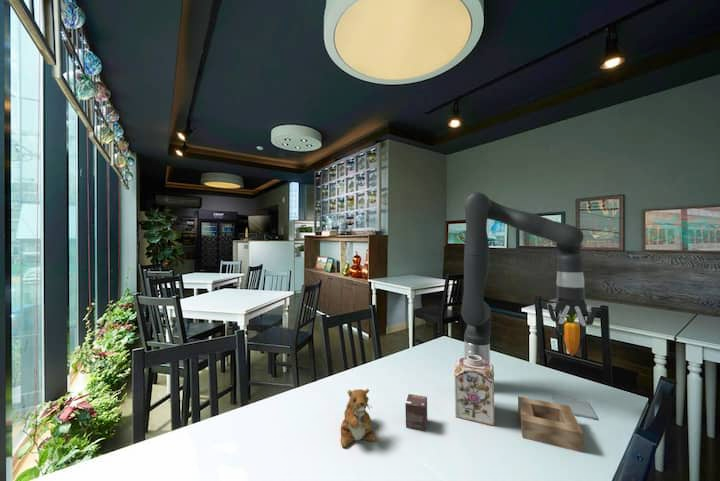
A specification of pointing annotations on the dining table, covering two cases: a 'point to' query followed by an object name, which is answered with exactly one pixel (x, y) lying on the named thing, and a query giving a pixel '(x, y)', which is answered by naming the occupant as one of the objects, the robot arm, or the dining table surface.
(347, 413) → the stuffed squirrel
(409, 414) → the box
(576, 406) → the rubber mat
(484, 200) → the robot arm
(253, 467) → the dining table surface
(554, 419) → the socket block
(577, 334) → the carrot
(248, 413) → the dining table surface
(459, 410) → the decorative jar
